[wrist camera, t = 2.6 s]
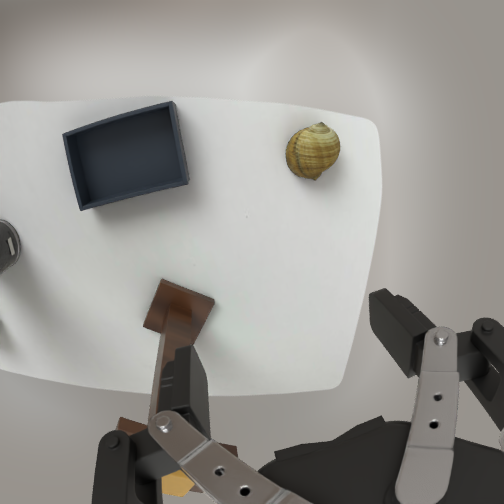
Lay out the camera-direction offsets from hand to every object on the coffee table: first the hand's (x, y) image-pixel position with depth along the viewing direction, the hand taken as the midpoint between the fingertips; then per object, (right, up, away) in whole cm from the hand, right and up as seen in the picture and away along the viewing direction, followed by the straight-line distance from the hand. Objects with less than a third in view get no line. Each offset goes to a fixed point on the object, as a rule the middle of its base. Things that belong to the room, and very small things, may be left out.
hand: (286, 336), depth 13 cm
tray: (-20, +19, +31) cm, 42 cm away
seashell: (+8, +20, +35) cm, 41 cm away
